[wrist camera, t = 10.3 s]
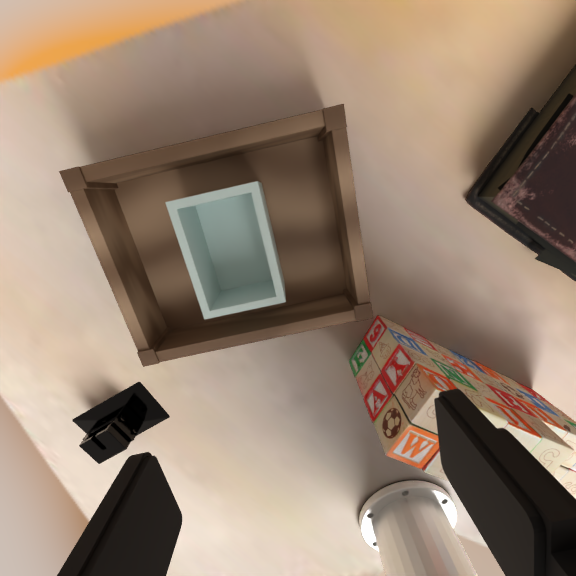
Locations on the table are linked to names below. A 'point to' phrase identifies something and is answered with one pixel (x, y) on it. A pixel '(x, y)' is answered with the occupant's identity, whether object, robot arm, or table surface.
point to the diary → (537, 181)
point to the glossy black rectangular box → (118, 422)
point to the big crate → (284, 220)
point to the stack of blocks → (446, 376)
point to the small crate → (229, 249)
